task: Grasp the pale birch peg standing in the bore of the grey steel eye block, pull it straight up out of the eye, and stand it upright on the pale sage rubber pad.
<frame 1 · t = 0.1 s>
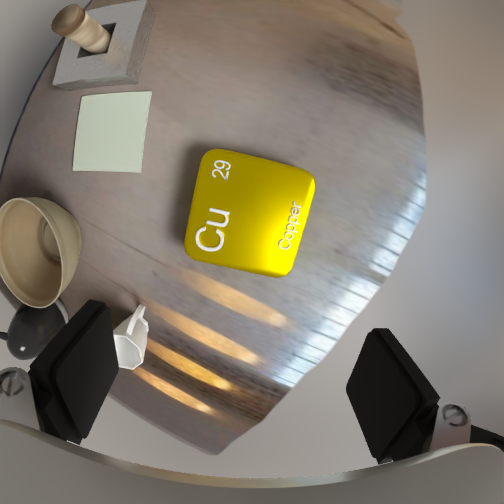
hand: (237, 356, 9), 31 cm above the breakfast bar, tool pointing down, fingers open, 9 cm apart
dark rounded piece: (55, 308, 43), on the breakfast bar
eye block: (109, 50, 30), on the breakfast bar
element tile: (248, 210, 40), on the breakfast bar
planter bowl: (61, 235, 39), on the breakfast bar
cup: (139, 318, 44), on the breakfast bar
peg: (90, 35, 23), in the eye block
pad: (109, 131, 34), on the breakfast bar
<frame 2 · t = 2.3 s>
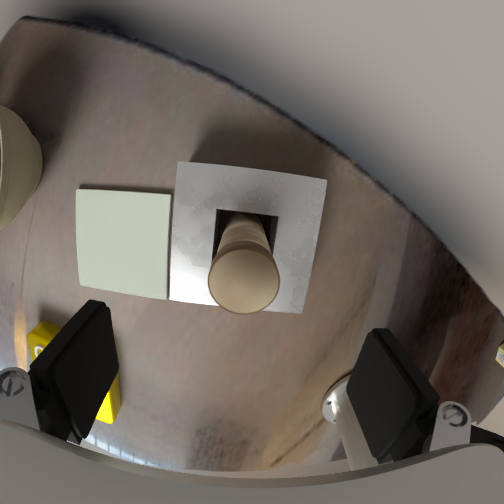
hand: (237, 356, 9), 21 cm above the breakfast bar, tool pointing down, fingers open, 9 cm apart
eye block: (244, 230, 29), on the breakfast bar
element tile: (80, 366, 36), on the breakfast bar
planter bowl: (22, 165, 26), on the breakfast bar
peg: (244, 248, 23), in the eye block
pad: (120, 243, 29), on the breakfast bar
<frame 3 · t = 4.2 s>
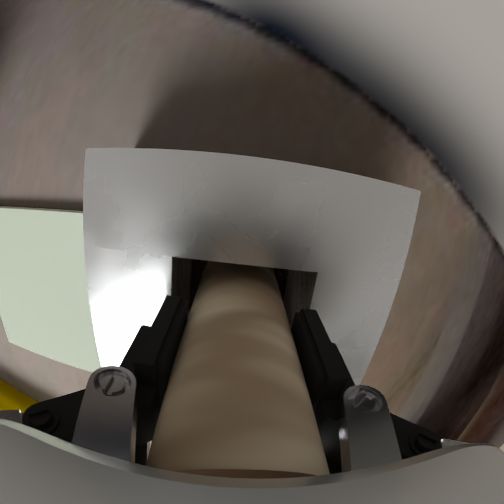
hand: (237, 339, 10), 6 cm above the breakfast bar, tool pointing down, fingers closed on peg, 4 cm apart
eye block: (238, 278, 16), on the breakfast bar
element tile: (38, 424, 22), on the breakfast bar
peg: (237, 358, 9), in the eye block, touching gripper
pad: (42, 291, 16), on the breakfast bar
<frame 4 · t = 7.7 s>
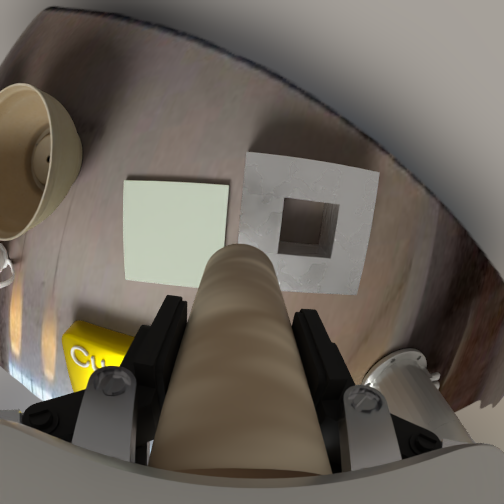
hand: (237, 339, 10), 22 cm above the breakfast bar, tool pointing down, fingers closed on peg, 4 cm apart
eye block: (298, 219, 31), on the breakfast bar
element tile: (117, 366, 37), on the breakfast bar
planter bowl: (57, 157, 28), on the breakfast bar
cup: (7, 258, 31), on the breakfast bar
peg: (238, 358, 9), point 23 cm above the breakfast bar, touching gripper
pad: (172, 234, 31), on the breakfast bar
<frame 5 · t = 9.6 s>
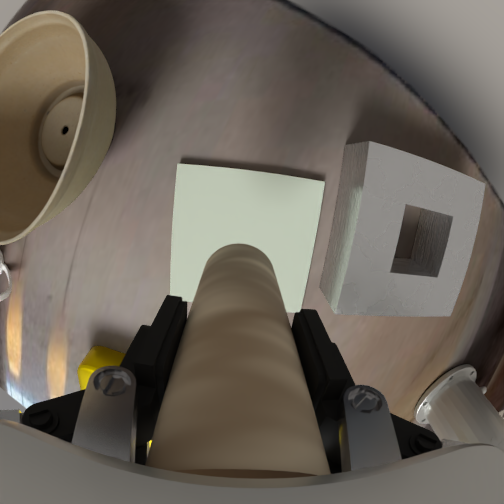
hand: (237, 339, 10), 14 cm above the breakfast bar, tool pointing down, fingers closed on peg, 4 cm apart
eye block: (395, 229, 24), on the breakfast bar
element tile: (147, 398, 30), on the breakfast bar
planter bowl: (76, 130, 20), on the breakfast bar
cup: (2, 262, 24), on the breakfast bar
peg: (237, 358, 9), point 16 cm above the breakfast bar, touching gripper
pad: (242, 241, 24), on the breakfast bar
when the fingers open (8 cm above the breakfast bar, at t = 11.0 s): peg drops 2 cm, resting on pad.
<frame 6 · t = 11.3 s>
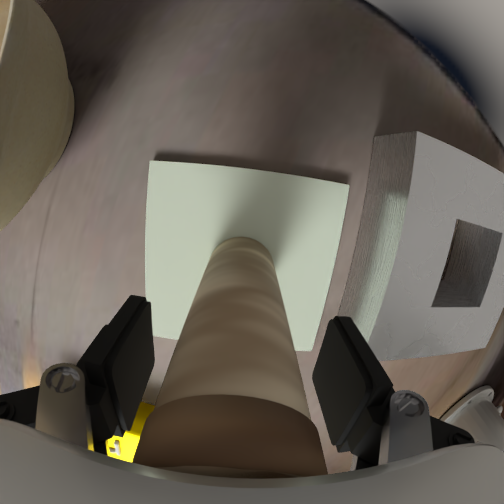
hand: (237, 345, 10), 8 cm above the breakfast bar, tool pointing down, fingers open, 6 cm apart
eye block: (429, 245, 18), on the breakfast bar
element tile: (132, 432, 24), on the breakfast bar
planter bowl: (33, 124, 14), on the breakfast bar
peg: (237, 331, 11), on the pad, point 8 cm above the breakfast bar
pad: (239, 264, 18), on the breakfast bar
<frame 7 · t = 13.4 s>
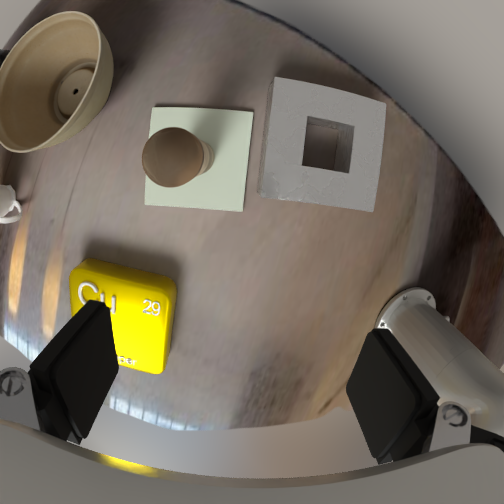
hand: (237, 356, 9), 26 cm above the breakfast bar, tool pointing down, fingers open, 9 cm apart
eye block: (315, 146, 32), on the breakfast bar
element tile: (125, 310, 38), on the breakfast bar
planter bowl: (82, 92, 27), on the breakfast bar
cup: (14, 200, 30), on the breakfast bar
peg: (187, 157, 24), on the pad, point 8 cm above the breakfast bar
pad: (196, 157, 31), on the breakfast bar
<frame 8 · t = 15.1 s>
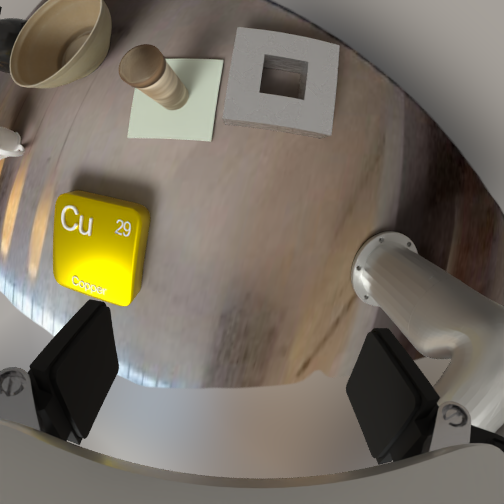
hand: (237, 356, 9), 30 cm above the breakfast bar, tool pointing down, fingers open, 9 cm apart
dark rounded piece: (31, 51, 27), on the breakfast bar
eye block: (279, 86, 33), on the breakfast bar
element tile: (103, 242, 39), on the breakfast bar
planter bowl: (86, 53, 29), on the breakfast bar
cup: (18, 145, 33), on the breakfast bar
peg: (160, 83, 25), on the pad, point 8 cm above the breakfast bar
pad: (174, 97, 33), on the breakfast bar
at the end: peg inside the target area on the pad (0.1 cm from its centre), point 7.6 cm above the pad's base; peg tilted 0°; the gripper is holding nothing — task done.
